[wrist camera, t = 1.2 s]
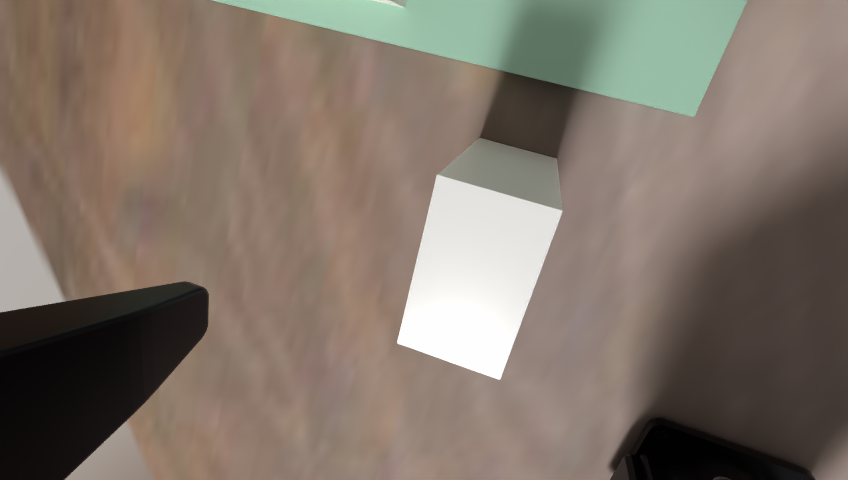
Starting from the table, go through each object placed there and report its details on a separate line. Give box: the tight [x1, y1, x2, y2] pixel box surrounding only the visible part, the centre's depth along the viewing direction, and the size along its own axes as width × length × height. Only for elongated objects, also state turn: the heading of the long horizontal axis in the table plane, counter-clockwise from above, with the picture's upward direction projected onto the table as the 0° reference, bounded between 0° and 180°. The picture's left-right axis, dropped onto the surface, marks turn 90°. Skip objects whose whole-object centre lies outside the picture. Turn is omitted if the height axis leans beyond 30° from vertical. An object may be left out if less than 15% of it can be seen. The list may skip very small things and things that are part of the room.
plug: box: [397, 138, 563, 380], centre depth 14 cm, size 3×6×7 cm, turn 167°
